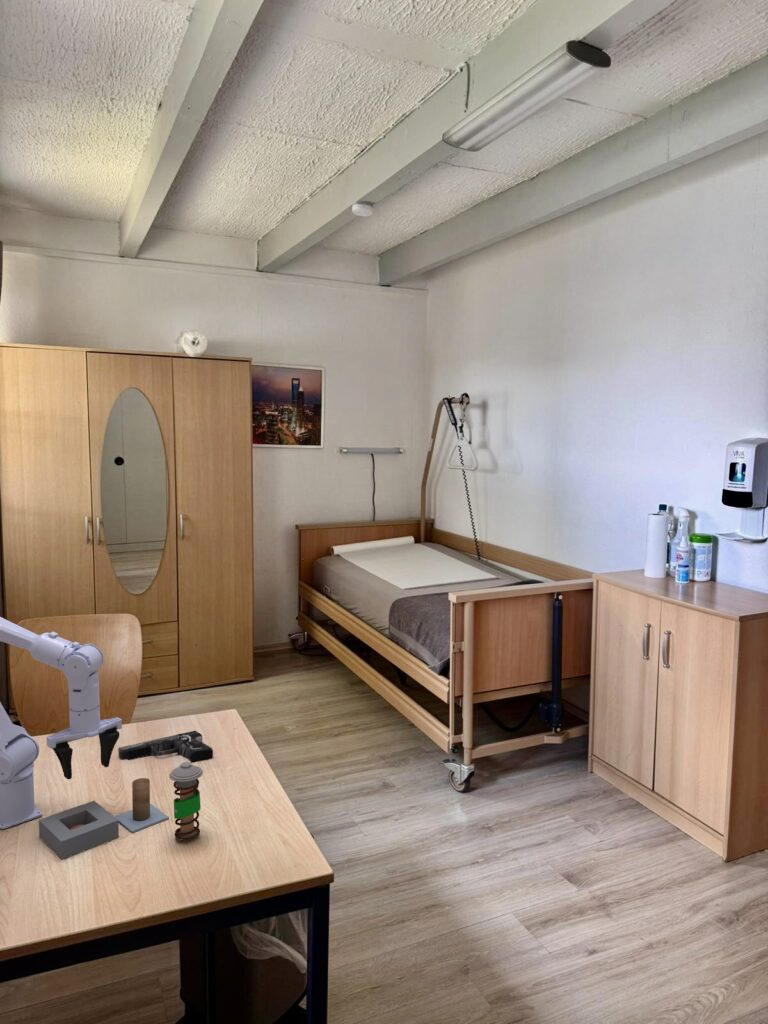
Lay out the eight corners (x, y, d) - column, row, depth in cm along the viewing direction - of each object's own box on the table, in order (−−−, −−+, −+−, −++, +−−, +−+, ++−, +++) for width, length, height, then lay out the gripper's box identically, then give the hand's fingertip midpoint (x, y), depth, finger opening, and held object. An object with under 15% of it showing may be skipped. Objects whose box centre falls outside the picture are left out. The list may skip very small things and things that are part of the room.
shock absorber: (169, 832, 146) (167, 759, 145) (201, 826, 148) (200, 755, 147) (172, 849, 140) (170, 773, 139) (206, 842, 142) (204, 768, 141)
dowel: (129, 816, 151) (129, 781, 151) (145, 810, 154) (145, 776, 153) (137, 822, 149) (136, 787, 148) (152, 817, 151) (152, 782, 150)
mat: (113, 818, 151) (113, 816, 151) (150, 805, 157) (149, 803, 157) (132, 833, 146) (132, 831, 146) (168, 818, 151) (168, 816, 151)
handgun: (129, 766, 170) (117, 743, 181) (130, 780, 170) (117, 756, 182) (214, 747, 180) (197, 726, 192) (214, 760, 180) (197, 739, 192)
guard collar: (39, 836, 144) (38, 819, 144) (94, 816, 152) (93, 800, 152) (62, 859, 136) (61, 841, 136) (118, 837, 144) (118, 820, 144)
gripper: (55, 721, 140) (58, 789, 142) (128, 702, 150) (129, 766, 152) (41, 711, 145) (44, 777, 146) (112, 694, 155) (114, 756, 157)
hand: (86, 771), depth 149 cm, fingers open, 7 cm apart
